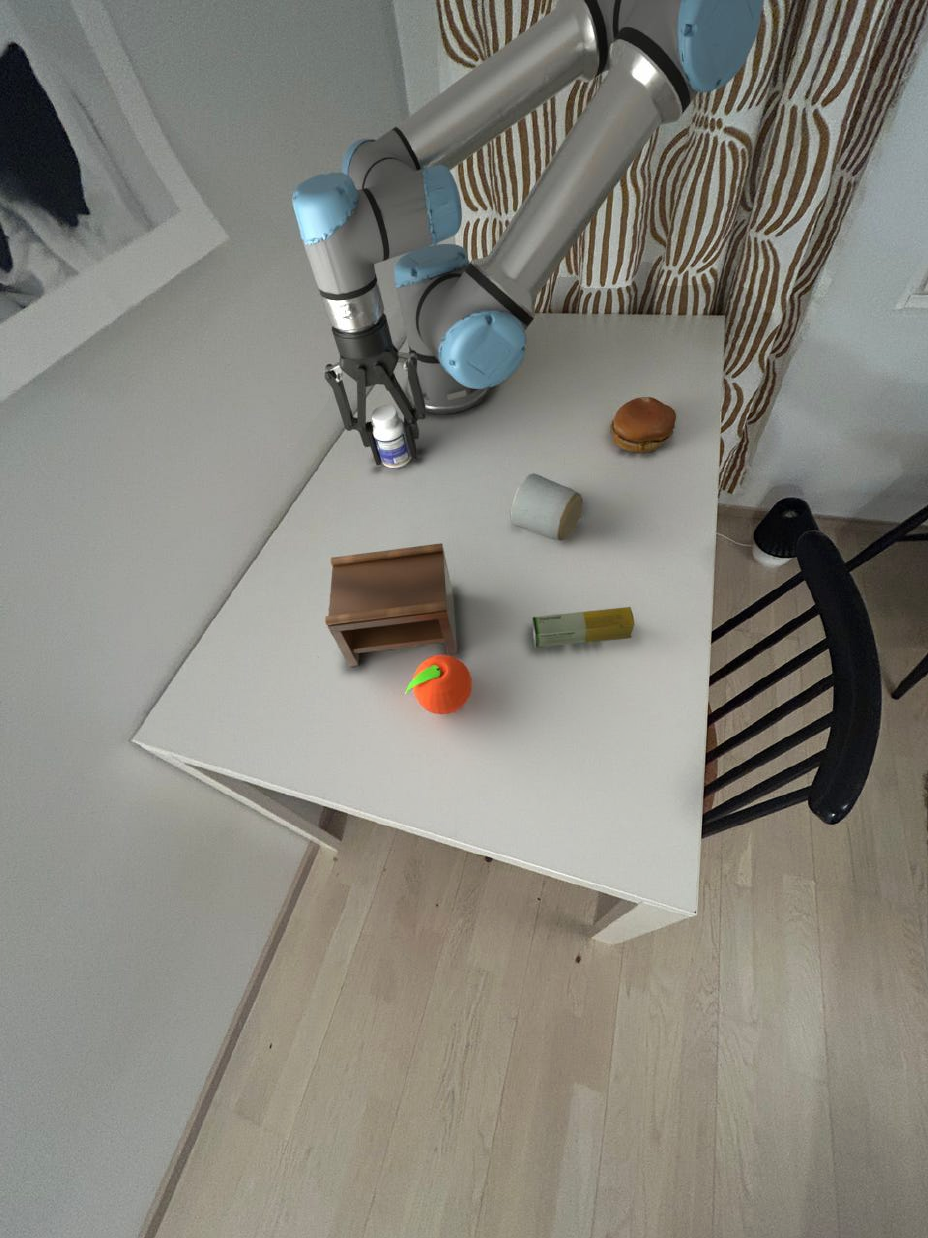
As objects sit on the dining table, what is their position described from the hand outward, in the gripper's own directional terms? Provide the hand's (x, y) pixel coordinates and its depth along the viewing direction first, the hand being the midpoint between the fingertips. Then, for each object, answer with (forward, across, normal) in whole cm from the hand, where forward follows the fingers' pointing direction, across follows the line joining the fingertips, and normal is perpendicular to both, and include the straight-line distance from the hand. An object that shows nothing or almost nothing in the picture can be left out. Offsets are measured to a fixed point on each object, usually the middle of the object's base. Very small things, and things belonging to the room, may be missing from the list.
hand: (396, 456), depth 97 cm
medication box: (+1, +23, -39) cm, 45 cm away
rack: (+1, +1, -34) cm, 34 cm away
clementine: (+1, +6, -45) cm, 46 cm away
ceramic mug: (+1, +23, -18) cm, 29 cm away
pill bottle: (0, 0, 0) cm, 0 cm away
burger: (+1, +40, -2) cm, 40 cm away
